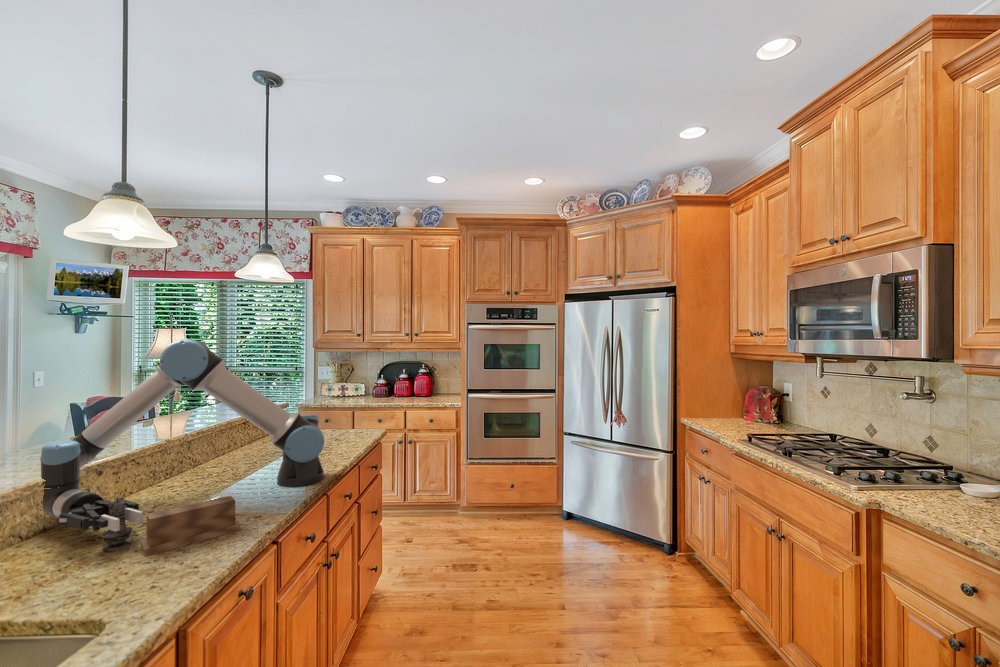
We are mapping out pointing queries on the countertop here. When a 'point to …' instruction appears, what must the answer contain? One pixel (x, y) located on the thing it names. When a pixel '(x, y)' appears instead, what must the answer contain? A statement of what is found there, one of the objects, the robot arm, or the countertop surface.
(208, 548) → the countertop surface
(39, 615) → the countertop surface
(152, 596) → the countertop surface
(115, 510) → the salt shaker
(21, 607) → the countertop surface
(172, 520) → the ridge
